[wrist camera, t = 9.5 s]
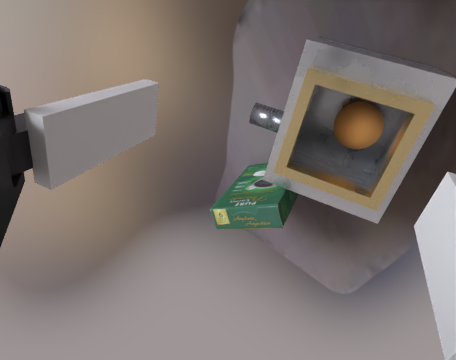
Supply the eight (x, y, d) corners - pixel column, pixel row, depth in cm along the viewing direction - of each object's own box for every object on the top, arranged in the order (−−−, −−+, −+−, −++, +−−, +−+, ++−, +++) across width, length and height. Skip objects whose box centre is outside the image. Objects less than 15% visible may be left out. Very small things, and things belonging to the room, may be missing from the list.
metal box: (286, 28, 36) (257, 27, 26) (435, 66, 32) (465, 82, 22) (255, 139, 43) (223, 172, 33) (374, 182, 39) (378, 232, 29)
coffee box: (250, 183, 46) (214, 232, 35) (246, 164, 45) (207, 209, 34) (306, 177, 42) (286, 230, 31) (302, 157, 41) (280, 204, 30)
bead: (336, 92, 34) (357, 107, 30) (376, 100, 35) (402, 115, 31) (320, 134, 37) (337, 153, 32) (358, 140, 38) (380, 160, 33)
